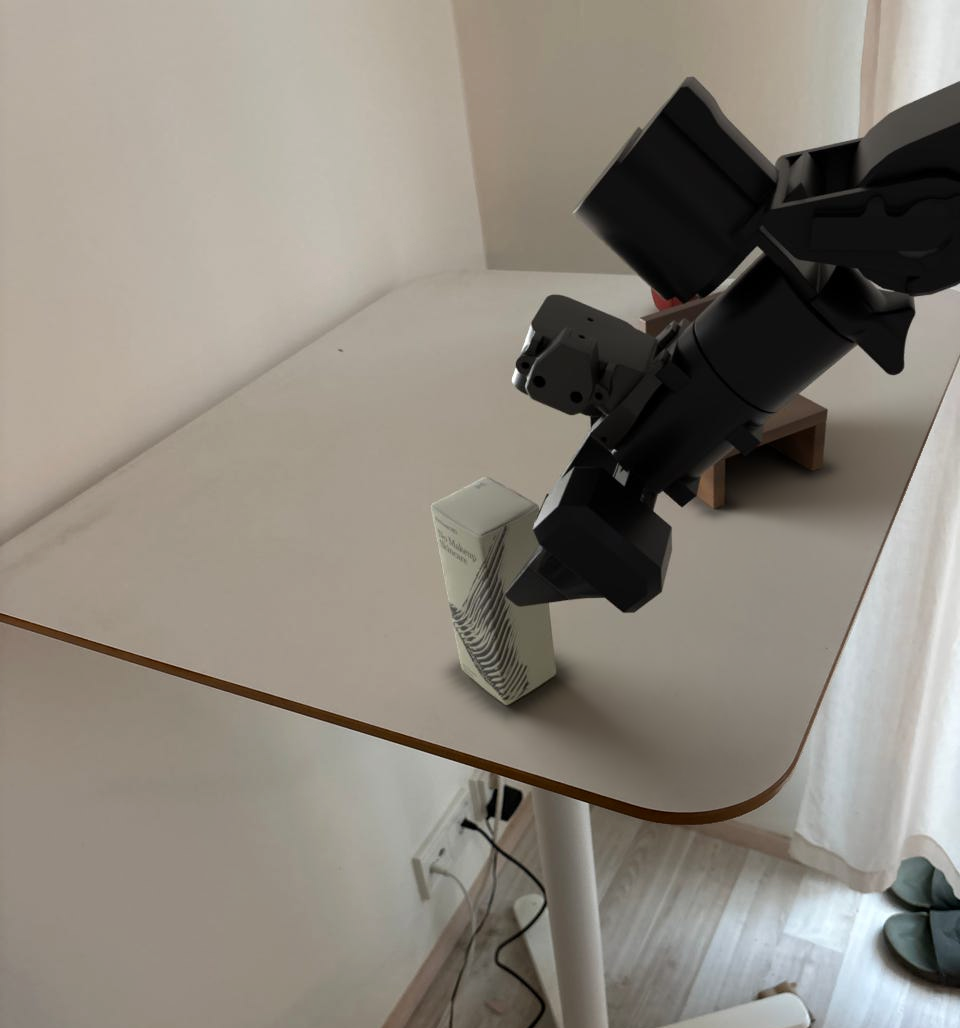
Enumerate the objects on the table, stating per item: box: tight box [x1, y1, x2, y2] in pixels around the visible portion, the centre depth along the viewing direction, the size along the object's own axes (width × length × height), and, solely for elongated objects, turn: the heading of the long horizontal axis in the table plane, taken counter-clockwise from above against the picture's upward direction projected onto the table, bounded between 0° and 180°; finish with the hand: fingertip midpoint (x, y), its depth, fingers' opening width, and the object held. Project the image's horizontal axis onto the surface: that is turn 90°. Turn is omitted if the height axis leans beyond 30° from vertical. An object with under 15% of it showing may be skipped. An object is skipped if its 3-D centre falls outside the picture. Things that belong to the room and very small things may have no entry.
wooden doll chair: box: [638, 290, 829, 509], centre depth 73 cm, size 10×10×12 cm
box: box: [430, 475, 557, 706], centre depth 57 cm, size 5×4×13 cm
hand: (532, 550), depth 54 cm, fingers open, 9 cm apart
